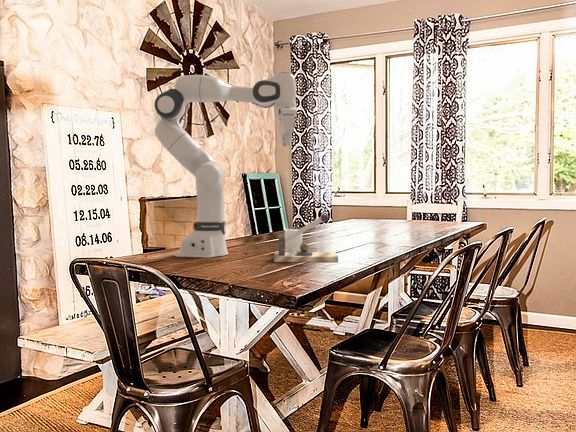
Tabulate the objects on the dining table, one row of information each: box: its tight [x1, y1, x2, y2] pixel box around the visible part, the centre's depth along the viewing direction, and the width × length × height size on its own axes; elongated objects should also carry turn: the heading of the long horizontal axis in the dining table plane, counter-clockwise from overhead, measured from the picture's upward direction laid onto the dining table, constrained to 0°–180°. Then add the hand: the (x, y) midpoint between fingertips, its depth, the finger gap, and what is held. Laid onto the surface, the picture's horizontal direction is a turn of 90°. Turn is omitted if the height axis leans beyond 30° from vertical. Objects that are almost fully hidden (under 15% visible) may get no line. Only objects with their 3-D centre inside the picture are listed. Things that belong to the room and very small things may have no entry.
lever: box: [285, 213, 329, 243], centre depth 220 cm, size 22×6×3 cm, turn 91°
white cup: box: [284, 228, 303, 252], centre depth 240 cm, size 8×8×10 cm
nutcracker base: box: [273, 235, 339, 263], centre depth 221 cm, size 25×12×9 cm, turn 90°
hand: (286, 145), depth 231 cm, fingers open, 8 cm apart
